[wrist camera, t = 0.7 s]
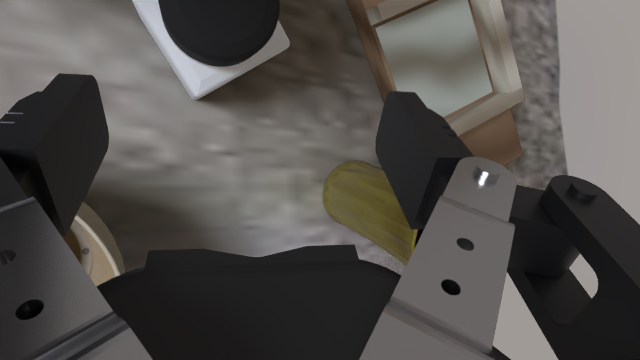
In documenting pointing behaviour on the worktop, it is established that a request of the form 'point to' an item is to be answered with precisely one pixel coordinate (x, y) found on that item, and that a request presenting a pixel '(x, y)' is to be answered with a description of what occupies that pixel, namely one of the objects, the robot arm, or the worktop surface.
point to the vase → (370, 208)
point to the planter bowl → (94, 246)
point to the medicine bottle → (213, 38)
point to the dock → (448, 65)
